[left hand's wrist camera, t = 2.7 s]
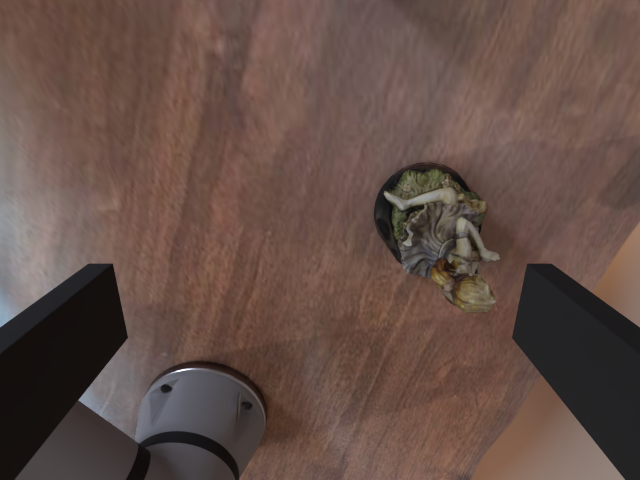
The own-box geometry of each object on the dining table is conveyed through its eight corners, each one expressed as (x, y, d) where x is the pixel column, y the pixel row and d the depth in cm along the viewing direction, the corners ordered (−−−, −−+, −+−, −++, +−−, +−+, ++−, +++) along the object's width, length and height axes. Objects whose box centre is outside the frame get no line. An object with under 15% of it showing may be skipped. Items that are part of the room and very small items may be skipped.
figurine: (482, 263, 41) (565, 348, 27) (382, 278, 42) (413, 369, 28) (479, 152, 37) (574, 186, 23) (368, 171, 38) (396, 216, 24)
